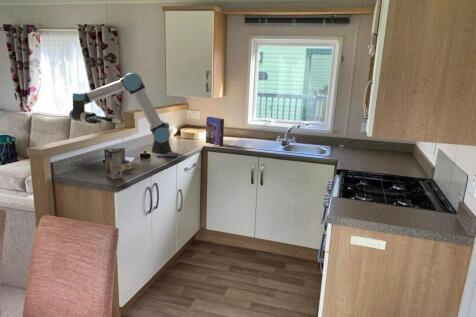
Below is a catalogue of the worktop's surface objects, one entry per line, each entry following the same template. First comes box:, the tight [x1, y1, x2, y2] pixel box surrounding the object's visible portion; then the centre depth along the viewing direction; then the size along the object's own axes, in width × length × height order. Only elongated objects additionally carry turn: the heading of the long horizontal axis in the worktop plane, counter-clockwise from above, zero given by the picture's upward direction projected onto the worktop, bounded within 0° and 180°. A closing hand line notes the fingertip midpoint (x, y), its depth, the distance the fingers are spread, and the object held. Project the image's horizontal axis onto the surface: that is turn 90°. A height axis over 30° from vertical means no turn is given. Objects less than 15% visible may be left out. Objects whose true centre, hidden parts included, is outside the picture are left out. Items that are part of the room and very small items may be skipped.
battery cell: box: [115, 146, 126, 165], centre depth 220 cm, size 6×6×13 cm
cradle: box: [121, 160, 134, 172], centre depth 221 cm, size 11×10×4 cm
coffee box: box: [103, 147, 123, 180], centre depth 202 cm, size 9×6×16 cm
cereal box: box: [205, 116, 225, 146], centre depth 307 cm, size 17×5×24 cm, turn 48°
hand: (112, 121), depth 229 cm, fingers open, 13 cm apart
